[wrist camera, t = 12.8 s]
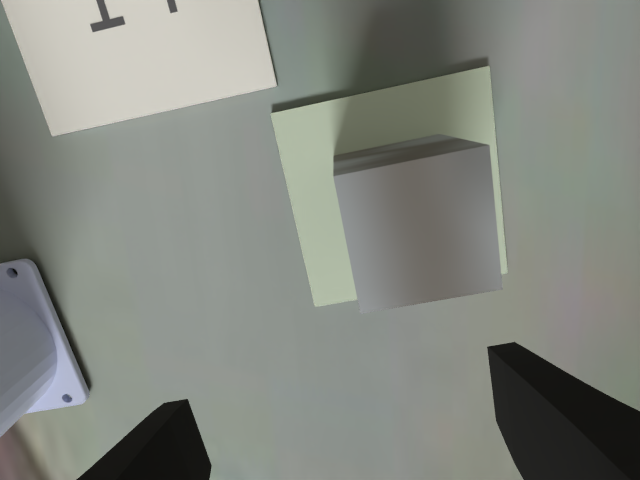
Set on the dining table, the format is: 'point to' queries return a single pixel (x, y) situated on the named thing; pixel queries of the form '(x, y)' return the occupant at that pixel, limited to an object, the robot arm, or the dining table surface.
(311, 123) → the sage mat
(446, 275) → the grey block
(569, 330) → the dining table surface
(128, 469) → the robot arm
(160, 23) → the tile
